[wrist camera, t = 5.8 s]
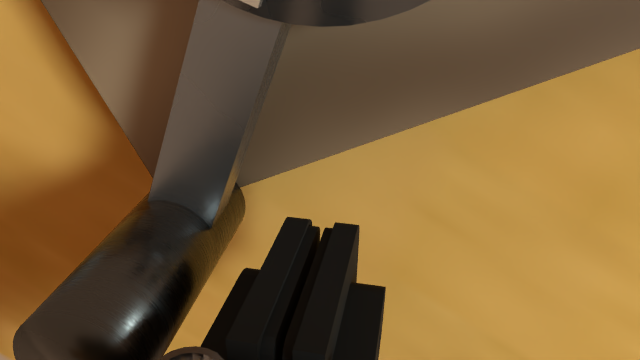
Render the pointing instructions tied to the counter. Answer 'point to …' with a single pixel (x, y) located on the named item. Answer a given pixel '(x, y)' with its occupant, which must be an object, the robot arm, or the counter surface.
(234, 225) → the grey crank handle
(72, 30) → the crank board
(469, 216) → the counter surface
